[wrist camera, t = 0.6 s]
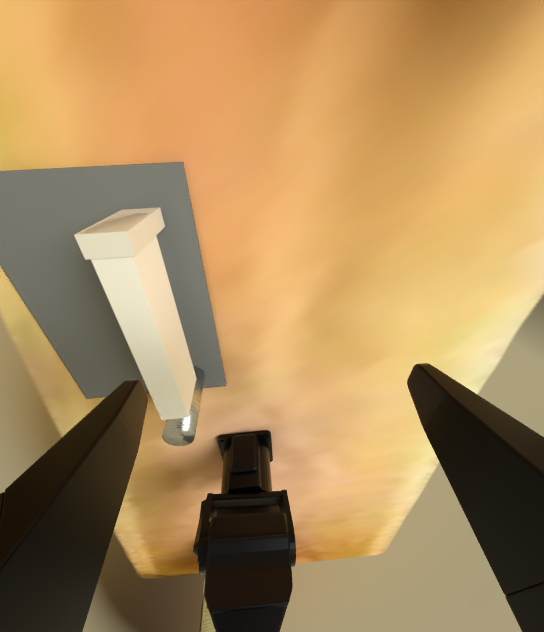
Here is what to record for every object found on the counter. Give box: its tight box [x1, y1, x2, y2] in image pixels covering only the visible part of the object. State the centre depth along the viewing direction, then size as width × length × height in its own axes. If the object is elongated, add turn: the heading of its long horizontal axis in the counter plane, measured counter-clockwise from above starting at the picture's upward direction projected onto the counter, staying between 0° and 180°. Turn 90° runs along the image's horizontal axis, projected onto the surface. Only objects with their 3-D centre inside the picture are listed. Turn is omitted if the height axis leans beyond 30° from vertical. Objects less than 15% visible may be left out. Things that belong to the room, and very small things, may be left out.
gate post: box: [162, 366, 205, 446], centre depth 23 cm, size 2×2×7 cm
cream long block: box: [74, 207, 196, 420], centre depth 18 cm, size 14×2×6 cm, turn 2°
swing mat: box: [0, 162, 226, 399], centre depth 21 cm, size 20×14×1 cm
